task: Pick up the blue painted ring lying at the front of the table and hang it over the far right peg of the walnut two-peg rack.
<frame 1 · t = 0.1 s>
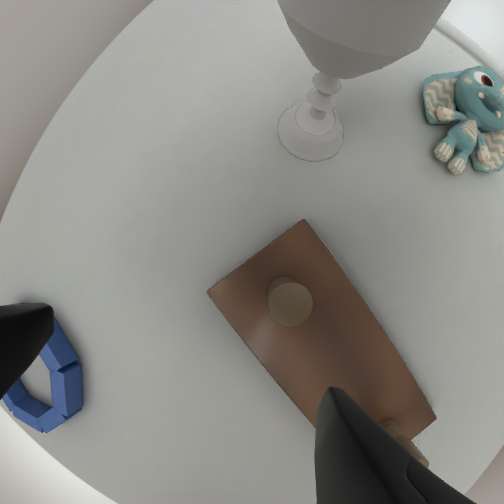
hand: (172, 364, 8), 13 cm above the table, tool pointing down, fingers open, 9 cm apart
chalice: (310, 131, 21), on the table
stuffed animal: (459, 128, 21), on the table
rack: (337, 364, 20), on the table
ring: (36, 365, 21), on the table
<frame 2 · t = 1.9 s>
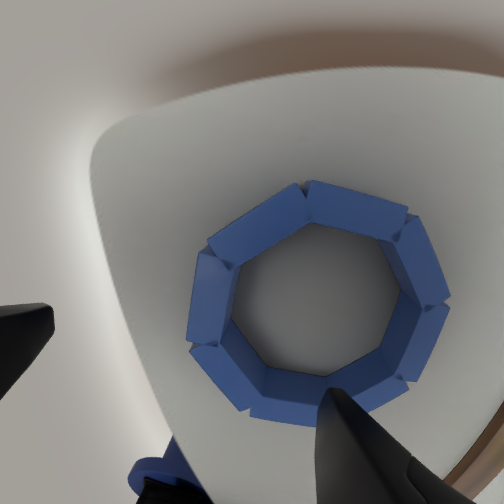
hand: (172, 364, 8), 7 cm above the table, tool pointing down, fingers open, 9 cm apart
rack: (480, 462, 17), on the table
ring: (318, 305, 15), on the table
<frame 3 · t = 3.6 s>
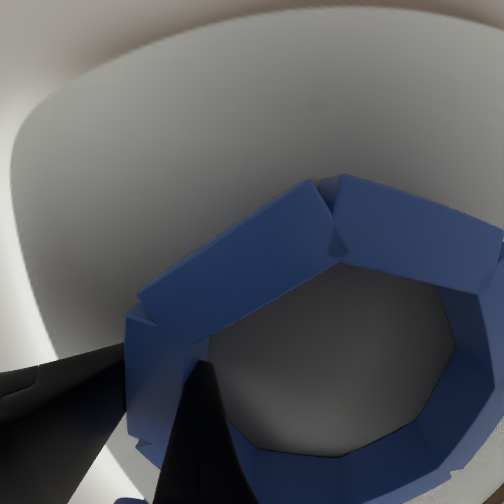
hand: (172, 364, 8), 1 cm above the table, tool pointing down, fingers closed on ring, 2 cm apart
rack: (500, 501, 11), on the table
ring: (335, 376, 9), on the table, touching gripper
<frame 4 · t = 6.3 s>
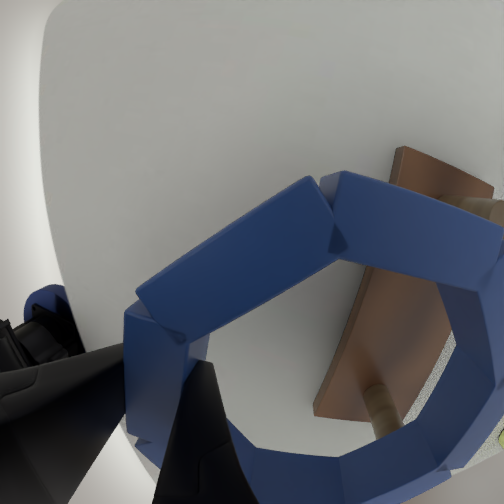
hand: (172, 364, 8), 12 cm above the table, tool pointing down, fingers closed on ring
rack: (406, 303, 19), on the table
ring: (335, 374, 9), point 11 cm above the table, touching gripper
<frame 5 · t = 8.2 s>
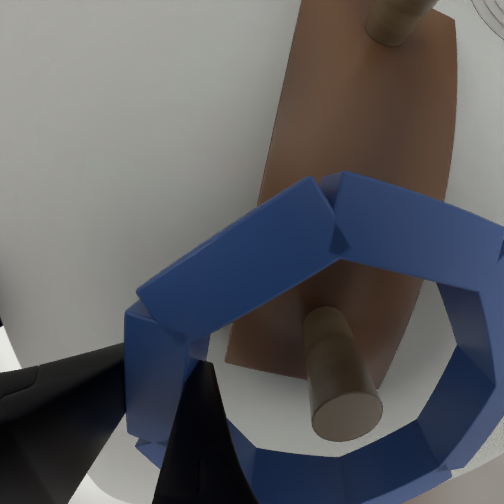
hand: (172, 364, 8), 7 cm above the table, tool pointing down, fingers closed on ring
chalice: (497, 14, 9), on the table
rack: (357, 169, 13), on the table
ring: (336, 374, 9), point 5 cm above the table, touching gripper
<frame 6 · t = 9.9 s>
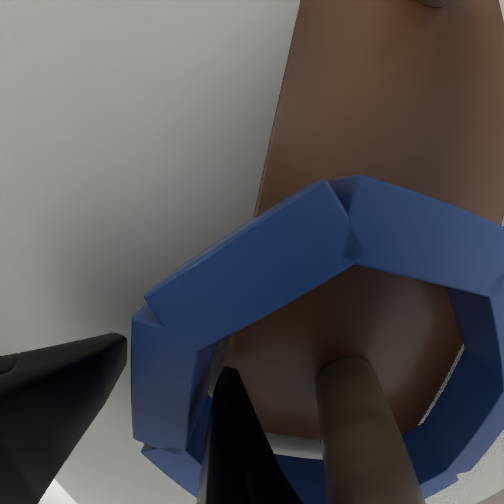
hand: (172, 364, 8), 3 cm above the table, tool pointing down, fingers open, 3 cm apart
rack: (394, 165, 9), on the table
ring: (344, 379, 9), point 1 cm above the table, touching rack
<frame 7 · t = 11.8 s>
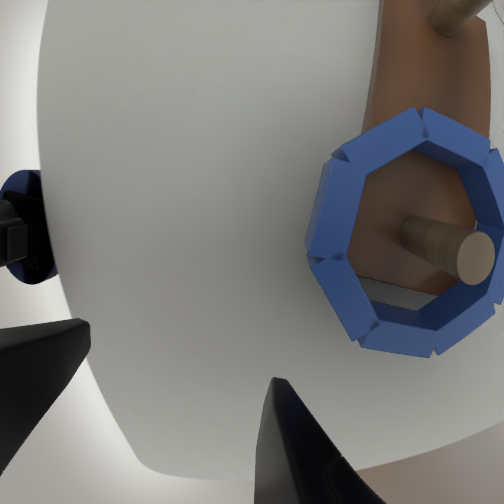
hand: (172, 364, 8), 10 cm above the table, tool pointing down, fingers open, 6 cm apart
rack: (427, 119, 14), on the table
ring: (415, 232, 14), point 1 cm above the table, touching rack
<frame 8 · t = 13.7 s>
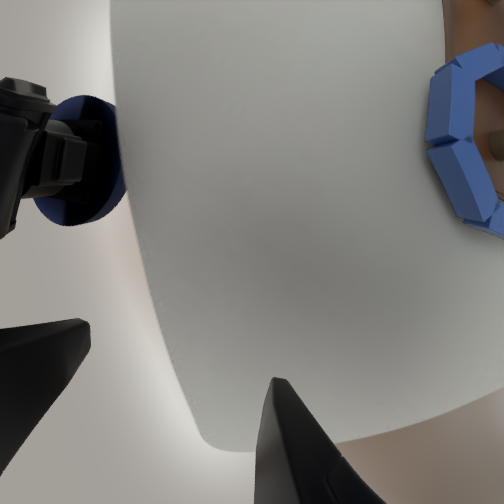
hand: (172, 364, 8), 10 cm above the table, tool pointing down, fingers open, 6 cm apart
rack: (487, 64, 13), on the table
ring: (498, 144, 13), point 1 cm above the table, touching rack
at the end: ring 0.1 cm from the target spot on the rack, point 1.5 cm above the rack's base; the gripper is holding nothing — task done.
